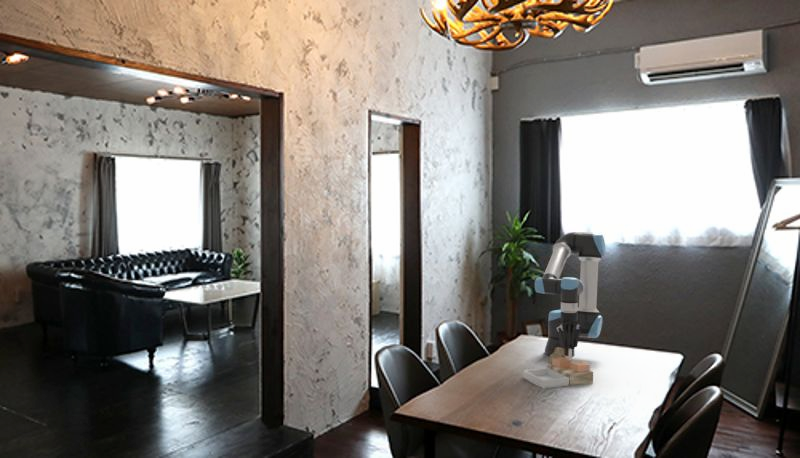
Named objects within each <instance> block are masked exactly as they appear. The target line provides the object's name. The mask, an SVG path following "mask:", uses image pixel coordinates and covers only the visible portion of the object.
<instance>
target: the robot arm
mask: <svg viewBox="0 0 800 458" xmlns="http://www.w3.org/2000/svg"><path fill="white" fill-rule="evenodd" d="M553 244H554V245H553V247H552V254H551V256H550V259H549V261H548V264H547V266H546V269H545V270H544V273H543V276H542V277H536V278H535V281H534V291H535V292H536V293H538V294H544V295H547V294H548V295H559V296H560V309H556V310H555V309H554V310H552V311H551V310H550V311H549V313H548V320H547V321H548V323H547V324H548V325H547V327H548V330H547V331H548V332H547V333H548V336H547V337H548V339H547V341H546V344H545V347H544V354H545V355H547V356H549V357H550V355H551V354H553V352H554V350H555V348H556V347H559V348H563V349H564V355H565V356H566V359H568V360H571V362H573V357H574V356H575V349H576V347H578V343H579V338H587V339H590V338H592V339H597V338H598V337H599V336H600V334H601V331H602V327H603V316H602V315H600V311H599V310H598V308H597V304H598V303H597V301H598V300H597V298H598V281H599V280H598V277H599V262H601V260H602V258H603V256H605V255H606V242H605V237H604V235H603V234H602V233H601V232H586V231H585V232H579V231H578V232H577V231H576V232H575V231H573V232H568V233H566V234H564V235H562V236H561V237H559V238H558V239H557V240H556V242H555V243H553ZM571 255H577V258H578V259H579V261H580V276H579V279H578V278H576V277H573V276H572V277H571V276H570V277H569V276H565V277H562V278H561V274H562V272H563V270H564V267H565V264H566V262H567V259H568V258H569V257H570V256H571Z"/></svg>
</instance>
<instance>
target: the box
mask: <svg viewBox="0 0 800 458" xmlns="http://www.w3.org/2000/svg"><path fill="white" fill-rule="evenodd" d="M522 372H523V375H522V376H523V379H524V380H526V381H528V382H530V383H532V384H533V385H536V386H537V387H539V388H540V389H543V390H544V389H552V388H560V387H570V385H569V377H567V376H564V375H562V374H560V373H558V372H556V371H554V370H552V369H549V367H544V368H534V369H526V370H523V371H522Z"/></svg>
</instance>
